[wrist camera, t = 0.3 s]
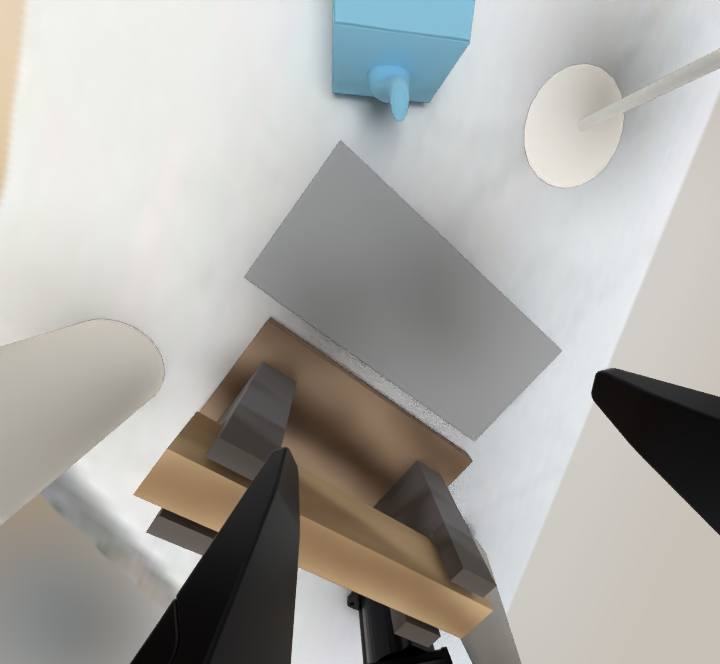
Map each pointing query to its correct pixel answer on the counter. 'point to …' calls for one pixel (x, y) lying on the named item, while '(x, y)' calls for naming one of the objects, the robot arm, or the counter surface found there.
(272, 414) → the rail stand
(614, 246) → the counter surface
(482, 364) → the grey mat
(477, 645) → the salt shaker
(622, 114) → the wineglass
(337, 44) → the light blue knobbed box
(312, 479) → the oak rail
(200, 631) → the robot arm
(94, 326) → the cylindrical container
